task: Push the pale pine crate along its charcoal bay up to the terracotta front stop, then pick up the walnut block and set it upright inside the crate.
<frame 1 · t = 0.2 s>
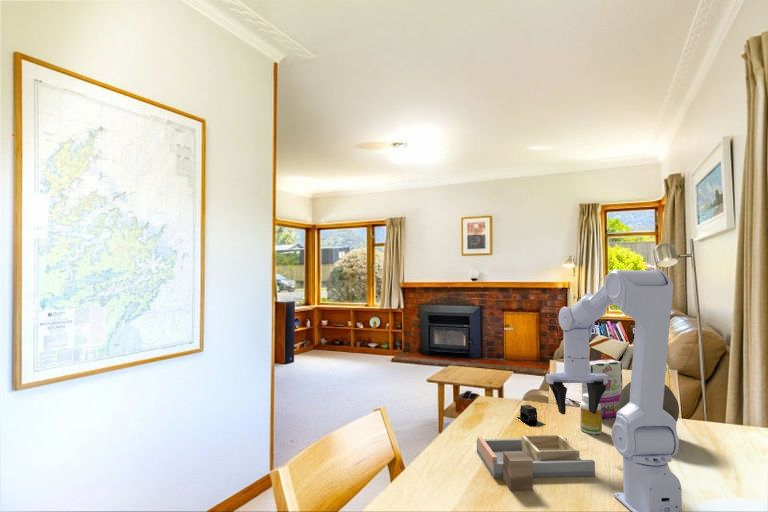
hand: (577, 412, 107), 9 cm above the table, fingers open, 7 cm apart
black box: (528, 423, 129), on the table
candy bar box: (602, 416, 133), on the table
dark grey ball: (648, 437, 116), on the table
crate: (549, 450, 100), point 3 cm above the table, slide at 8.0 cm
supplement bottle: (591, 431, 120), on the table
bay: (532, 463, 100), on the table
walnut block: (517, 485, 90), on the table
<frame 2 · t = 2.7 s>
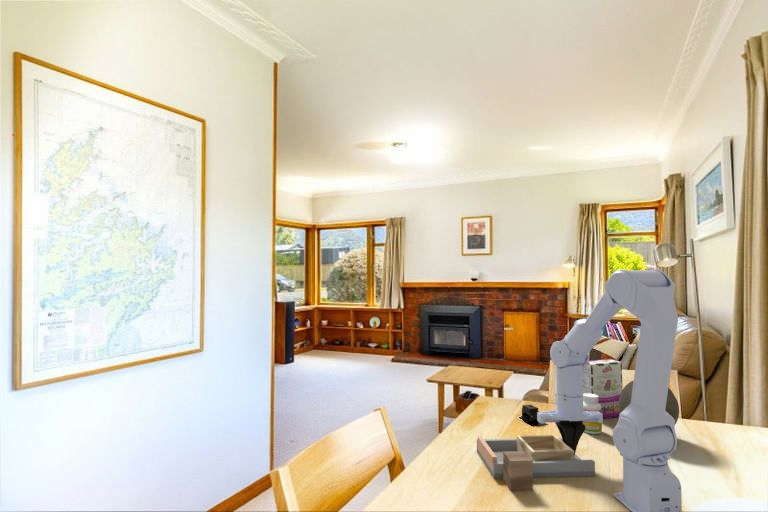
hand: (570, 453, 101), 2 cm above the table, fingers closed
crate: (544, 450, 100), point 3 cm above the table, slide at 6.8 cm, touching gripper
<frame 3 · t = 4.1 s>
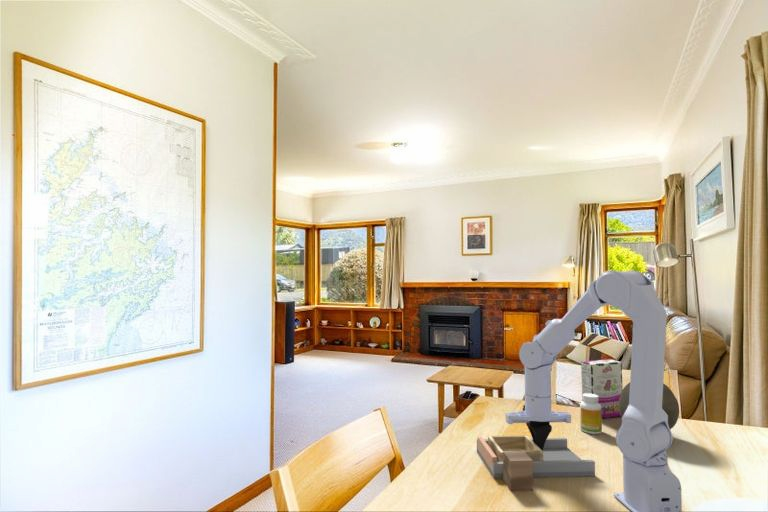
hand: (538, 454, 100), 2 cm above the table, fingers closed
crate: (514, 451, 100), point 3 cm above the table, slide at -0.1 cm, touching gripper
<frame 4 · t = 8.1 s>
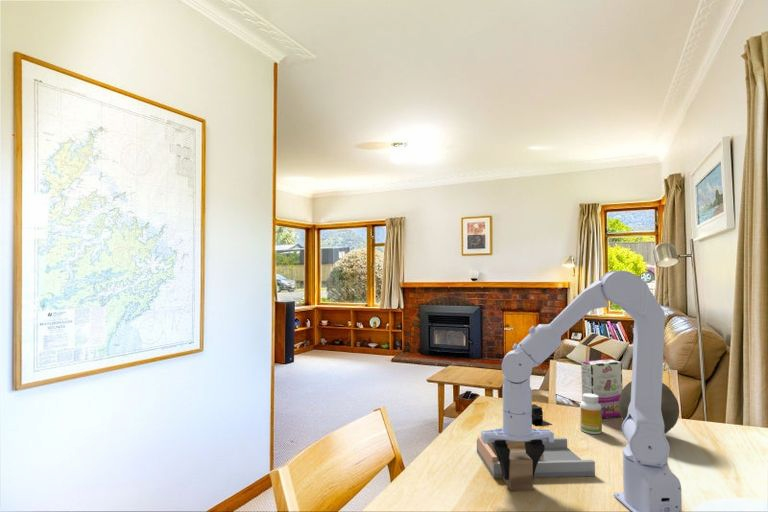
hand: (517, 477, 90), 2 cm above the table, fingers closed on walnut block, 4 cm apart
crate: (514, 451, 100), point 3 cm above the table, slide at 0.0 cm
walnut block: (517, 485, 90), on the table, touching gripper
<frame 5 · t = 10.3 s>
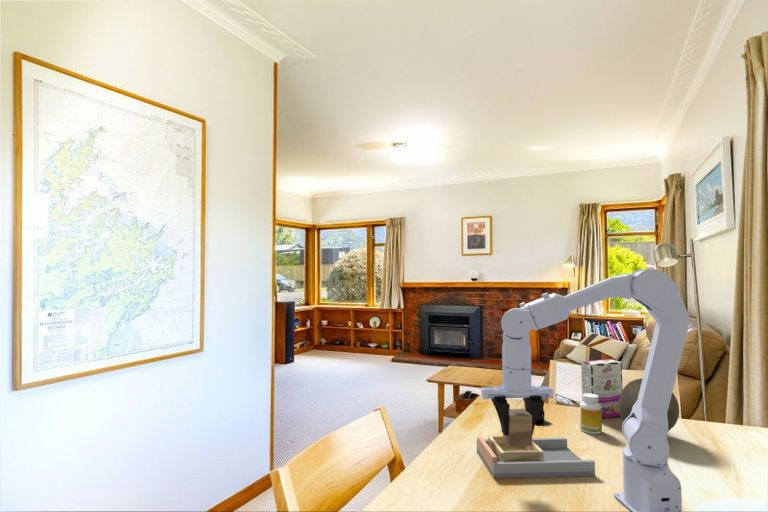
hand: (517, 433, 90), 10 cm above the table, fingers closed on walnut block, 4 cm apart
walnut block: (517, 441, 90), point 9 cm above the table, touching gripper
when the fingers open (5 cm above the table, at t = 12.5 s): walnut block drops 2 cm, resting on crate.
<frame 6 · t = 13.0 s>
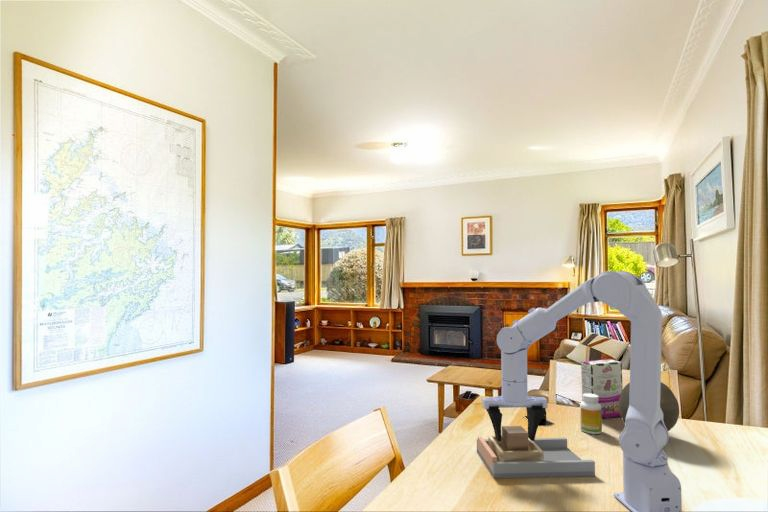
hand: (514, 439, 100), 5 cm above the table, fingers open, 7 cm apart
crate: (514, 451, 100), point 3 cm above the table, slide at 0.0 cm, touching walnut block
walnut block: (515, 456, 100), point 2 cm above the table, touching crate
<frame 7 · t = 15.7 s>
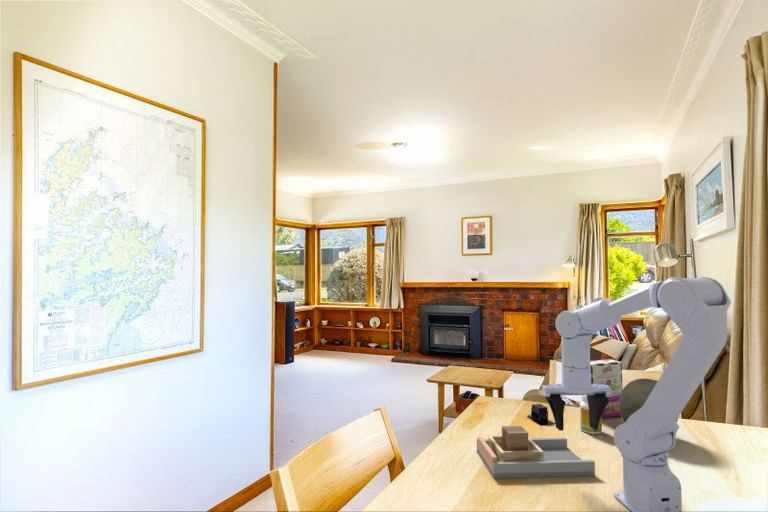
hand: (576, 428, 96), 9 cm above the table, fingers open, 7 cm apart
at the end: crate slide at 0.0 cm; walnut block 0.1 cm from the target spot, point 1.7 cm above the table; walnut block tilted 0° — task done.
